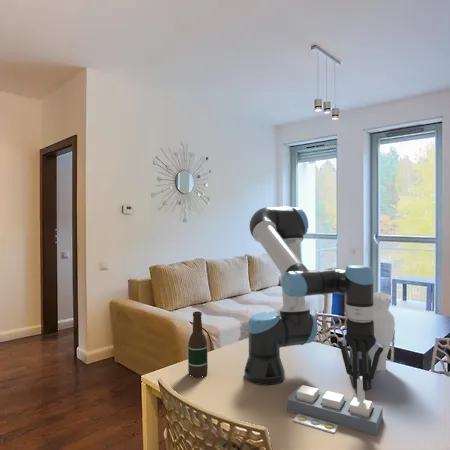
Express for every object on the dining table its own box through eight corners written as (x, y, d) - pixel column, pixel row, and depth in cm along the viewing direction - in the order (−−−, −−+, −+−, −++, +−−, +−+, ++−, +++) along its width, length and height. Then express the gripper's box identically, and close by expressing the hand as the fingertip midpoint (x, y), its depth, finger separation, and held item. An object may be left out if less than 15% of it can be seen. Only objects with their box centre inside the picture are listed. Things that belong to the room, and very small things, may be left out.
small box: (372, 389, 126) (372, 359, 126) (352, 388, 127) (352, 358, 127) (367, 376, 136) (366, 348, 136) (348, 375, 138) (348, 347, 137)
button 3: (349, 412, 105) (349, 404, 105) (353, 405, 109) (353, 397, 109) (368, 417, 102) (368, 409, 102) (372, 409, 106) (372, 401, 106)
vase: (375, 377, 135) (374, 299, 135) (347, 363, 149) (346, 292, 149) (404, 370, 141) (403, 295, 141) (374, 358, 155) (373, 289, 154)
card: (293, 421, 107) (293, 419, 107) (298, 415, 110) (298, 413, 110) (334, 433, 100) (334, 431, 100) (338, 426, 103) (338, 424, 103)
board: (286, 410, 113) (286, 399, 113) (298, 397, 121) (298, 386, 121) (376, 435, 99) (376, 422, 99) (382, 418, 107) (382, 406, 107)
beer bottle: (184, 376, 139) (183, 313, 139) (193, 368, 146) (192, 309, 146) (202, 379, 136) (201, 315, 136) (211, 371, 143) (210, 310, 143)
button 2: (322, 405, 109) (322, 397, 109) (327, 398, 114) (327, 390, 114) (339, 410, 106) (339, 402, 106) (344, 402, 111) (344, 394, 111)
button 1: (296, 399, 113) (296, 391, 113) (302, 392, 118) (302, 385, 118) (313, 403, 111) (313, 395, 111) (318, 396, 115) (318, 388, 115)
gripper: (333, 319, 106) (334, 400, 106) (381, 325, 99) (383, 412, 99) (340, 313, 112) (341, 390, 112) (386, 318, 105) (387, 400, 105)
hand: (361, 400), depth 106 cm, fingers closed
